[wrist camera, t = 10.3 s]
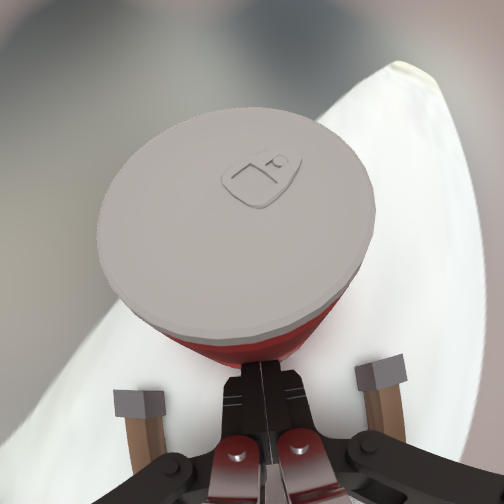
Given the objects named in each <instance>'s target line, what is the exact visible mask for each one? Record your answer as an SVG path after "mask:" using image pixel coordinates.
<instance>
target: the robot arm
mask: <svg viewBox="0 0 504 504" xmlns="http://www.w3.org/2000/svg"><path fill="white" fill-rule="evenodd" d="M261 369H262V377H261V370H260V364H259V362H253V363H244V364H241V376H239V377H229V379H228V381H227V382H226V384H225V385H224V392H223V412H222V434H221V440H220V442H219V444H218V445H217V446H216V448H215V449H214V450H212V451H211V452H209V453H207V454H204V455H200V456H196V457H193V458H189V459H188V458H187V457H186V456H184V455H182V454H180V453H165V454H162V455H160V456H159V457H157V458H156V459H155V460H153V461H152V462H151V463H149V464H148V465H147V466H145V467H144V468H143V469H141V470H140V471H139V472H137V473H136V474H135V475H133V476H132V477H130V478H129V479H128V480H126V481H125V482H123V483H122V484H121V485H119V486H118V487H116V488H115V489H113V490H112V491H110V492H109V493H107V494H106V495H104V496H103V497H101V498H100V499H98V500H97V501H95V502H93V503H92V504H266V481H267V472H266V465H270V464H272V463H271V454H270V445H271V451H272V457H273V464H278V463H279V468H280V475H281V482H282V487H283V491H284V495H285V499H286V503H287V504H351V501H350V499H349V496H348V495H350V496H352V497H353V498H355V499H357V500H359V501H361V502H363V503H365V504H504V475H500V474H496V473H492V472H488V471H485V470H481V469H478V468H474V467H470V466H467V465H464V464H461V463H458V462H455V461H452V460H449V459H446V458H443V457H441V456H438V455H435V454H432V453H430V452H427V451H424V450H422V449H419V448H417V447H414V446H412V445H409V444H407V443H404V442H402V441H400V440H397V439H395V438H393V437H390V436H388V435H386V434H384V433H382V432H379V431H375V430H367V431H362V432H360V433H358V434H356V435H355V436H353V437H352V438H351V439H332V438H328V437H325V436H323V435H322V434H320V433H319V432H318V431H317V430H316V428H315V426H314V423H313V419H312V416H311V412H310V408H309V405H308V401H307V397H306V394H305V390H304V386H303V383H302V379H301V377H300V376H299V375H298V374H297V373H296V372H295V371H294V370H287V371H281V368H280V363H279V359H276V360H268V361H261ZM262 378H263V384H262ZM263 387H264V392H263ZM264 396H265V400H264ZM265 405H266V409H265ZM266 414H267V418H266ZM267 423H268V427H267ZM268 432H269V436H268ZM269 438H270V445H269Z"/></svg>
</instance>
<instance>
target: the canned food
mask: <svg viewBox="0 0 504 504" xmlns="http://www.w3.org/2000/svg"><path fill="white" fill-rule="evenodd" d="M375 213H376V208H375V200H374V192H373V187H372V184H371V181H370V179H369V176H368V174H367V171H366V169H365V167H364V165H363V164H362V162H361V161H360V159H359V158H358V156H357V155H356V153H355V152H354V151H353V150H352V149H351V148H350V147H349V146H348V145H347V144H346V143H345V142H344V141H343V140H342V139H341V138H340V137H339V136H338V135H336V134H335V133H334V132H332V131H331V130H329V129H328V128H326V127H325V126H323V125H321V124H319V123H317V122H315V121H313V120H311V119H308V118H306V117H304V116H301V115H298V114H294V113H291V112H287V111H284V110H278V109H271V108H263V107H262V108H261V107H239V108H230V109H222V110H217V111H213V112H209V113H205V114H201V115H198V116H195V117H192V118H190V119H187V120H185V121H182V122H180V123H178V124H176V125H174V126H172V127H170V128H168V129H166V130H165V131H163V132H161V133H159V134H158V135H157V136H155V137H154V138H152V139H151V140H150V141H148V142H147V143H146V144H144V145H143V146H142V147H141V148H140V149H139V150H138V151H137V152H136V153H135V154H134V155H133V156H132V157H131V158H130V159H129V160H128V161H127V162H126V163H125V164H124V166H123V167H122V168H121V170H120V171H119V172H118V174H117V175H116V176H115V178H114V179H113V181H112V183H111V185H110V187H109V189H108V191H107V193H106V195H105V197H104V199H103V203H102V207H101V210H100V214H99V217H98V225H97V240H96V242H97V248H98V254H99V260H100V265H101V267H102V269H103V271H104V273H105V276H106V278H107V280H108V282H109V284H110V286H111V287H112V289H113V290H114V291H115V293H116V294H117V295H118V296H119V297H120V299H121V300H122V301H123V302H124V303H125V305H126V306H127V307H129V308H130V309H131V311H132V312H133V313H134V314H135V315H136V316H138V317H139V318H140V319H142V320H143V321H145V322H146V323H147V324H149V325H150V326H152V327H153V328H155V329H156V330H157V331H159V332H161V333H163V334H164V335H166V336H167V337H169V338H170V339H172V340H174V341H175V342H177V343H179V344H181V345H183V346H185V347H187V348H189V349H191V350H193V351H195V352H197V353H199V354H201V355H203V356H205V357H208V358H210V359H212V360H214V361H216V362H218V363H220V364H223V365H226V366H229V367H232V368H239V369H241V364H244V363H253V362H259V364H260V368H261V361H268V360H276V359H279V362H280V361H282V360H284V359H286V358H287V357H289V356H290V355H291V354H293V353H294V352H295V351H296V350H297V349H299V348H300V346H301V345H302V344H303V343H304V342H305V341H306V340H307V338H308V337H309V336H310V335H311V334H312V333H313V331H314V330H315V329H316V328H317V327H318V325H319V324H320V323H321V322H322V321H323V319H324V318H325V317H326V316H327V314H328V313H329V312H330V311H331V310H332V308H333V307H334V306H335V304H336V303H337V302H338V300H339V299H340V297H341V296H342V295H343V293H344V292H345V291H346V289H347V288H348V286H349V284H350V283H351V281H352V280H353V278H354V277H355V275H356V274H357V272H358V271H359V269H360V266H361V264H362V261H363V259H364V256H365V254H366V251H367V249H368V246H369V244H370V241H371V238H372V236H373V230H374V222H375Z"/></svg>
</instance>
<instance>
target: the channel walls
mask: <svg viewBox="0 0 504 504" xmlns="http://www.w3.org/2000/svg"><path fill="white" fill-rule="evenodd" d="M363 392H364V398H365V405H366V412H367V419H368V427H369V430H375V431H379V432H382V433H384V434H386V435H388V436H390V437H393V438H395V439H397V440H400V441H402V442H404V443H406V436H405V426H404V417H403V409H402V402H401V395H400V389H399V384H396V385H393V386H390V387H387V388H384V389H381V390H378V391H363ZM125 424H126V432H127V439H128V446H129V453H130V459H131V465H132V470H133V475H135V474H136V473H137V472H139V471H140V470H141V469H143V468H144V467H145V466H147V465H148V464H149V463H151V462H152V461H153V460H155V459H156V458H157V457H159V456H160V455H162V454H165V453H166V447H165V441H164V433H163V425H162V417H161V416H157V417H152V418H147V419H140V418H126V417H125Z"/></svg>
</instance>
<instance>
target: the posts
mask: <svg viewBox="0 0 504 504" xmlns="http://www.w3.org/2000/svg"><path fill="white" fill-rule="evenodd" d="M355 372H356V378H357V384H358V390H359V391H378V390H381V389H384V388H387V387H390V386H393V385H396V384H399V383H402V382H405V381H407V375H406V369H405V364H404V359H403V354H399V355H396V356H393V357H390V358H386V359H383V360H379V361H376V362H372V363H368V364H365V365H361V366H357V367H355ZM113 393H114V405H115V416H116V417H126V418H140V419H147V418H152V417H157V416H162V415H166V412H165V402H164V391H134V390H113Z"/></svg>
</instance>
